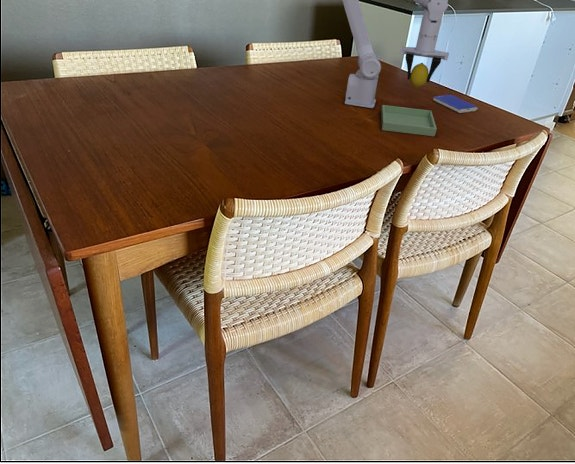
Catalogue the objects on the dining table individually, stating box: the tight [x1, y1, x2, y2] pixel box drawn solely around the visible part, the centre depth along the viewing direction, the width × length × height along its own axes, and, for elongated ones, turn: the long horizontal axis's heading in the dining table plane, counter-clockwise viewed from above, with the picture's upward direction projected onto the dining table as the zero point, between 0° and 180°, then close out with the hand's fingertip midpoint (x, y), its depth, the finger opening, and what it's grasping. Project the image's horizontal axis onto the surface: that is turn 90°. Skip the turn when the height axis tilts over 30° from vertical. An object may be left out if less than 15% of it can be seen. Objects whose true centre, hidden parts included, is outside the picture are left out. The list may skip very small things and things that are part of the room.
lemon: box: [409, 62, 429, 89], centre depth 148 cm, size 6×6×8 cm
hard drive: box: [432, 94, 478, 114], centre depth 158 cm, size 2×8×12 cm
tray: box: [380, 104, 438, 137], centre depth 141 cm, size 15×15×2 cm
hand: (418, 80), depth 149 cm, fingers closed on lemon, 5 cm apart
